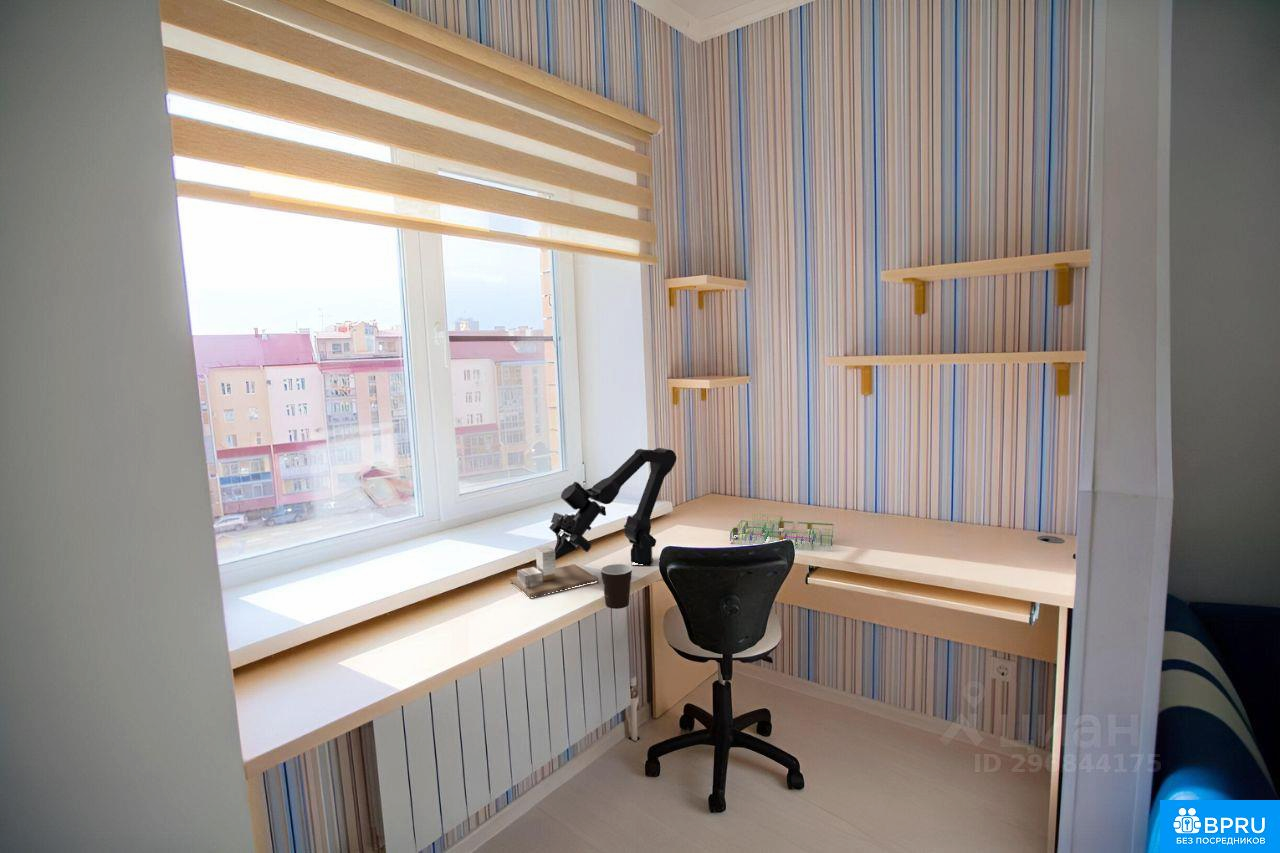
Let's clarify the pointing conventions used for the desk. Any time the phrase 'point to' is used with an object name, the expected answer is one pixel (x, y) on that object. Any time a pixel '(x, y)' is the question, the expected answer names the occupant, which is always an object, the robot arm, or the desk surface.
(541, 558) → the white boxy piece
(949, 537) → the desk surface
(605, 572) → the coffee mug
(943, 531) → the desk surface
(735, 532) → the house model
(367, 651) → the desk surface
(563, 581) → the lock plate
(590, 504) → the robot arm
